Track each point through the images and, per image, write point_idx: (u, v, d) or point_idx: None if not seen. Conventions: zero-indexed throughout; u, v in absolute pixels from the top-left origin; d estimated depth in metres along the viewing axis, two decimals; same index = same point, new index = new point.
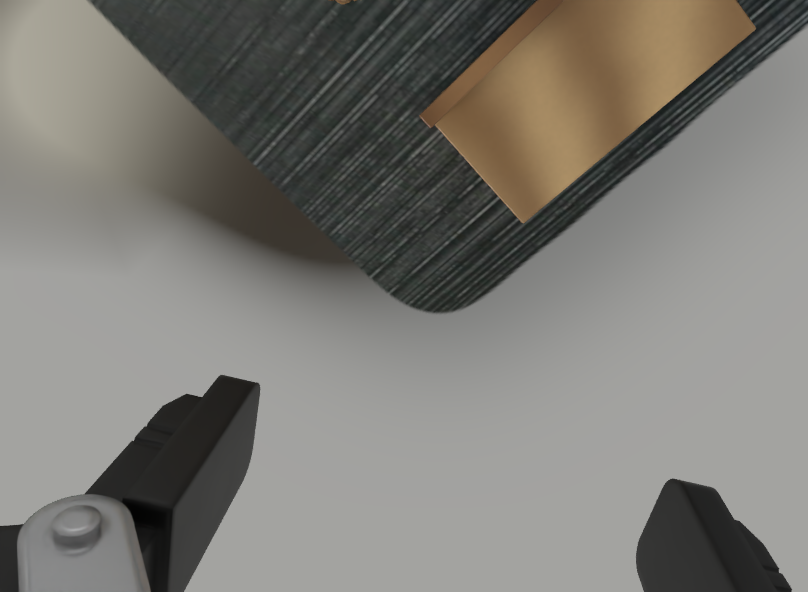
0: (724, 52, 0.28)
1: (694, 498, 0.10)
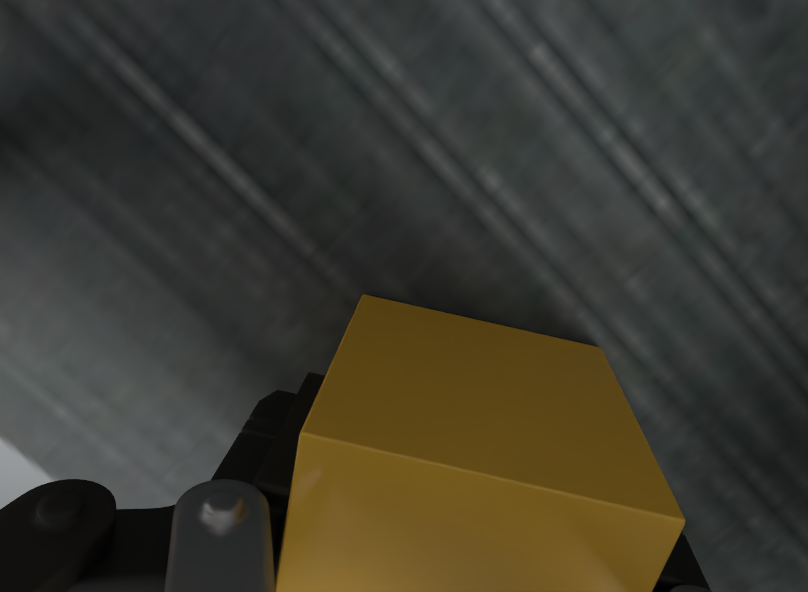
0: None
1: None
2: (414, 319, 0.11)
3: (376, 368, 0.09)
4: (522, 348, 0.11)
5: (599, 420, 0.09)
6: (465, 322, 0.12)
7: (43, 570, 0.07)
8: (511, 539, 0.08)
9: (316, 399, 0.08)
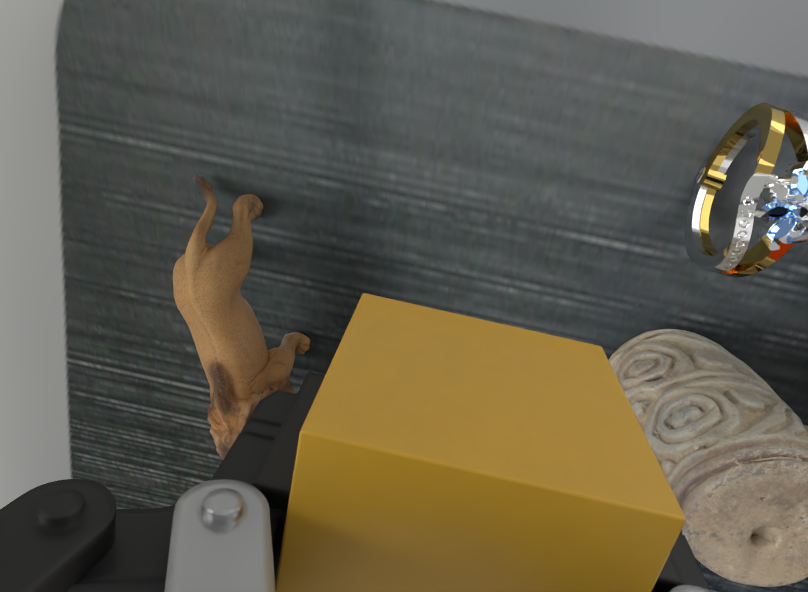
0: None
1: None
2: (414, 318, 0.11)
3: (377, 367, 0.09)
4: (523, 347, 0.11)
5: (599, 418, 0.09)
6: (465, 321, 0.12)
7: (43, 569, 0.07)
8: (512, 537, 0.08)
9: (316, 397, 0.08)
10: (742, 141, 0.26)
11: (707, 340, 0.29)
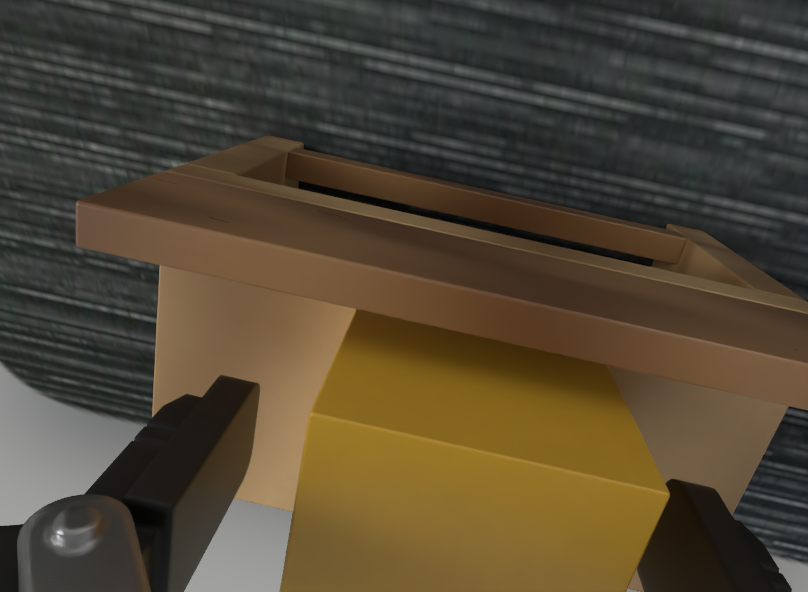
0: None
1: (695, 498, 0.10)
2: None
3: (380, 356, 0.10)
4: None
5: (591, 404, 0.10)
6: None
7: None
8: (508, 512, 0.08)
9: (324, 383, 0.09)
10: None
11: None
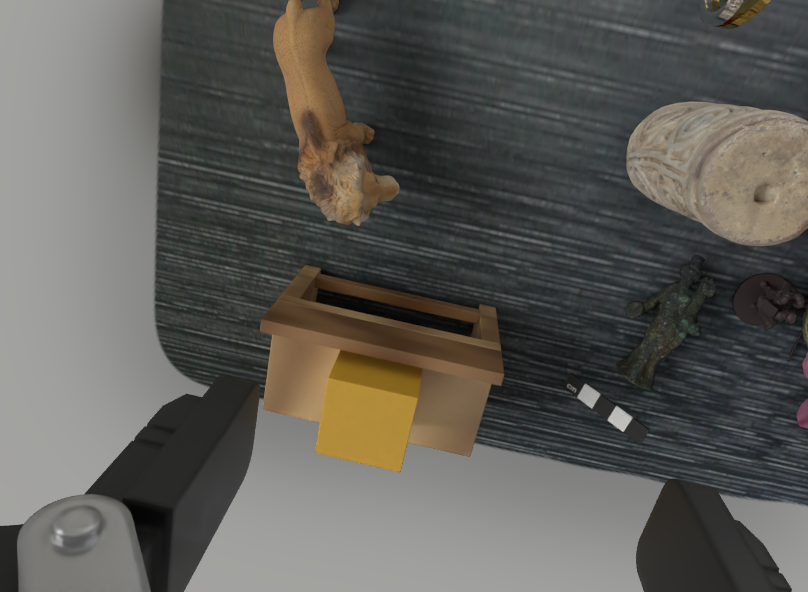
0: (445, 450, 0.39)
1: (694, 498, 0.10)
2: None
3: (347, 363, 0.34)
4: None
5: (409, 377, 0.34)
6: None
7: None
8: (378, 403, 0.32)
9: (331, 370, 0.33)
10: None
11: None
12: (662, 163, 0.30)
